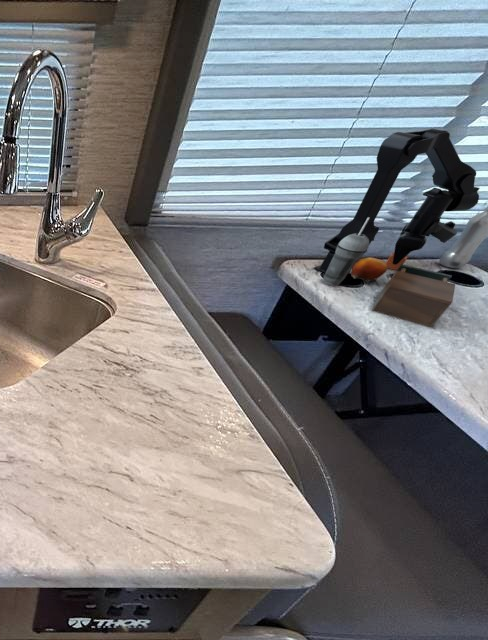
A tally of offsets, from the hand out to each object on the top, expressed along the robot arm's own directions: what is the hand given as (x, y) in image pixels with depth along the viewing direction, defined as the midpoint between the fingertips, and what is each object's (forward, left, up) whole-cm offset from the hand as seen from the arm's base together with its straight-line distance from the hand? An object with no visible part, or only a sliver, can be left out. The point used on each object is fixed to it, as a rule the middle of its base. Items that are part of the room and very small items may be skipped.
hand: (396, 259), depth 129 cm
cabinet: (-27, -19, -2) cm, 33 cm away
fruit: (-18, -2, -3) cm, 18 cm away
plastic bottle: (+18, -7, -3) cm, 20 cm away
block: (0, 0, -2) cm, 3 cm away
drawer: (-16, -14, -2) cm, 22 cm away
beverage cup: (-30, 0, -3) cm, 30 cm away
